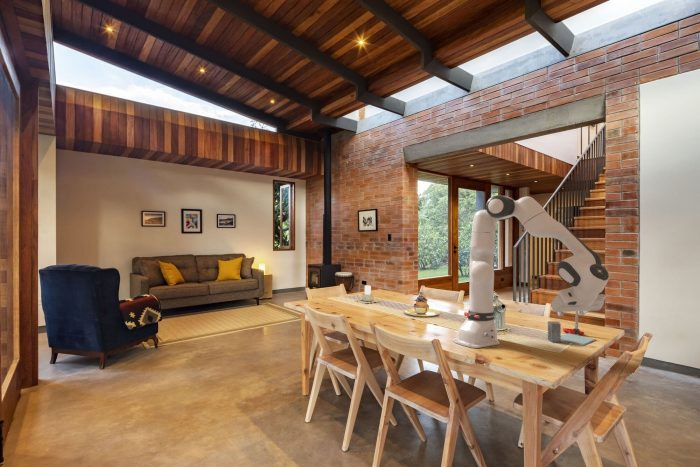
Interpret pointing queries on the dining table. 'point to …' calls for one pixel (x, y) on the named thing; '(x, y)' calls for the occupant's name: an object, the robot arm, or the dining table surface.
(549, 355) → the dining table surface
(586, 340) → the pad
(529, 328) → the dining table surface
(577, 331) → the tow hook
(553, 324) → the link block
